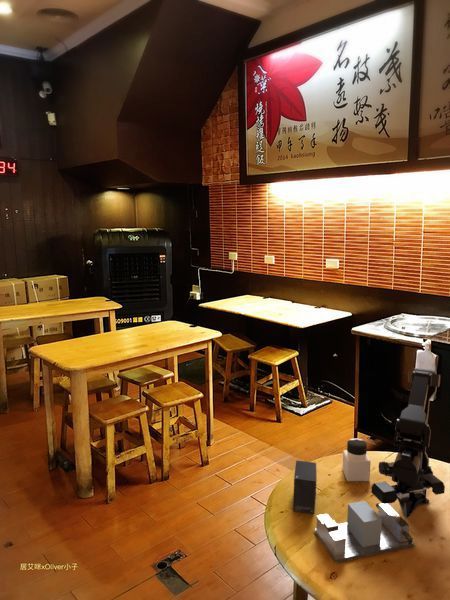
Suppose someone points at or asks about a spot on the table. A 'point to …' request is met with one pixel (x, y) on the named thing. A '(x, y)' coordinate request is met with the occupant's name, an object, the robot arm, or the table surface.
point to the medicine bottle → (356, 461)
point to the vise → (353, 541)
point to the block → (364, 523)
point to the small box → (304, 487)
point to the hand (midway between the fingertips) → (406, 517)
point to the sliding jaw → (394, 522)
